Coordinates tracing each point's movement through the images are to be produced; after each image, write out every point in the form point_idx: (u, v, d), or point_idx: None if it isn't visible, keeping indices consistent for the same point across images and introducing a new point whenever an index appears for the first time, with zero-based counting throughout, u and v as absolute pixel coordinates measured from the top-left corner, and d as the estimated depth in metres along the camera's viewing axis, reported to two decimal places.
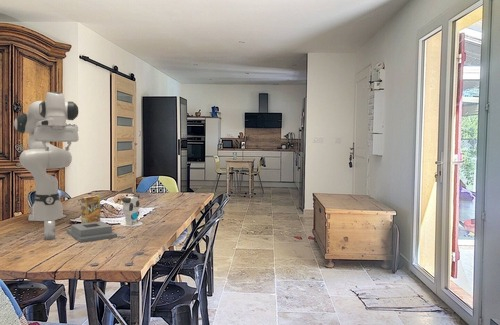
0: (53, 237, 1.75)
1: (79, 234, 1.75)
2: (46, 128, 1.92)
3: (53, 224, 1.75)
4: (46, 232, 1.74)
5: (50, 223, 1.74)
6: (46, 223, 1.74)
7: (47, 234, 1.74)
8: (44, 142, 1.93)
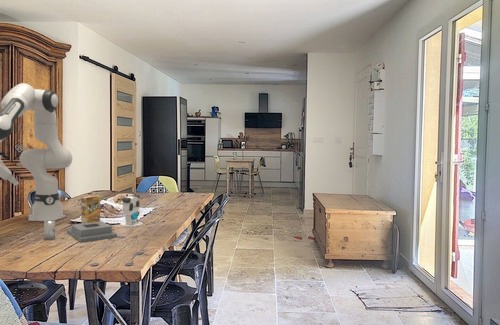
0: (53, 237, 1.75)
1: (79, 234, 1.75)
2: None
3: (53, 224, 1.75)
4: (46, 232, 1.74)
5: (50, 223, 1.74)
6: (46, 223, 1.74)
7: (47, 234, 1.74)
8: None
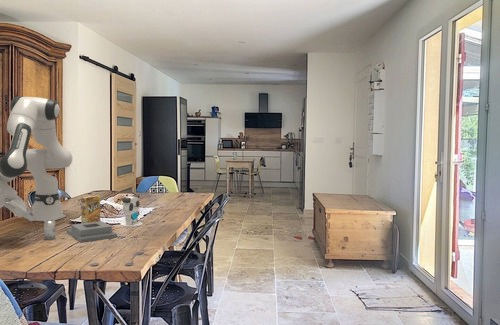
0: (53, 237, 1.75)
1: (79, 234, 1.75)
2: None
3: (53, 224, 1.75)
4: (46, 232, 1.74)
5: (50, 223, 1.74)
6: (46, 223, 1.74)
7: (47, 234, 1.74)
8: None
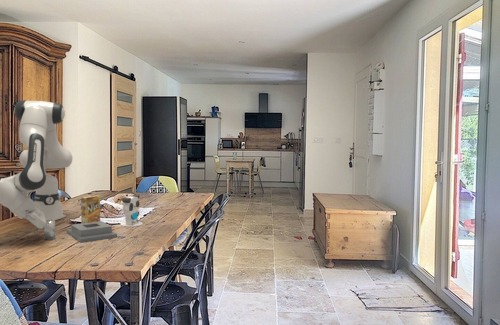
0: (53, 237, 1.75)
1: (79, 234, 1.75)
2: None
3: (53, 224, 1.75)
4: (46, 232, 1.74)
5: (50, 223, 1.74)
6: None
7: (47, 234, 1.74)
8: None
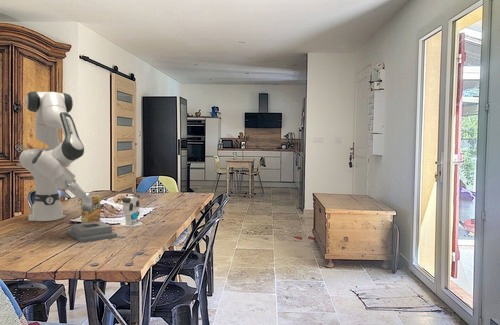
0: (90, 208, 1.81)
1: (79, 234, 1.75)
2: None
3: (90, 196, 1.81)
4: (84, 203, 1.80)
5: (88, 194, 1.80)
6: None
7: (85, 205, 1.80)
8: None
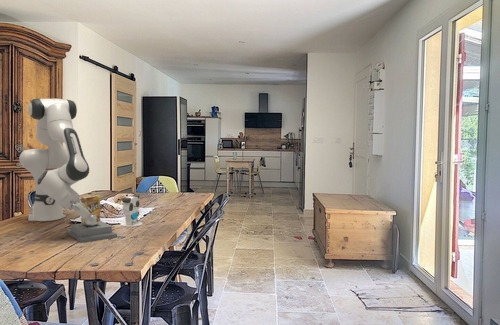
0: None
1: (79, 234, 1.75)
2: None
3: (95, 218, 1.83)
4: (88, 225, 1.81)
5: None
6: None
7: None
8: None
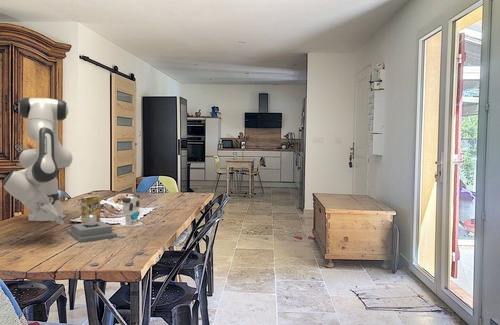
0: None
1: (79, 234, 1.75)
2: None
3: (95, 218, 1.83)
4: (88, 225, 1.81)
5: (92, 217, 1.82)
6: (88, 217, 1.81)
7: None
8: None
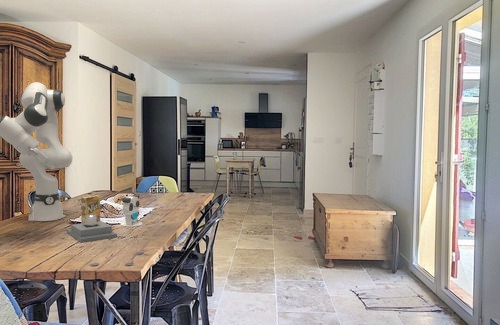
0: None
1: (79, 234, 1.75)
2: None
3: (95, 218, 1.83)
4: (88, 225, 1.81)
5: (92, 217, 1.82)
6: (88, 217, 1.81)
7: None
8: None
